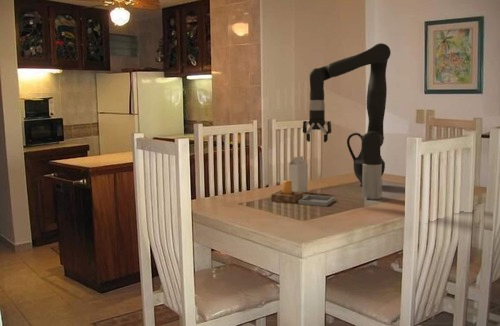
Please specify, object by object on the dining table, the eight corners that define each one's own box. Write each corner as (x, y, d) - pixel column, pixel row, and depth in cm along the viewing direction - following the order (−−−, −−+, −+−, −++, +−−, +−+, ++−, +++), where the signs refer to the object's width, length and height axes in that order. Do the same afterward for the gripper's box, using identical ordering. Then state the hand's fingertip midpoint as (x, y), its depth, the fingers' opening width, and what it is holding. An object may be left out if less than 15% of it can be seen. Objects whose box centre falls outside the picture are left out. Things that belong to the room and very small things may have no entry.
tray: (334, 202, 244) (334, 196, 244) (326, 207, 232) (326, 202, 232) (307, 199, 250) (307, 194, 249) (298, 205, 238) (298, 200, 237)
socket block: (303, 199, 250) (303, 191, 250) (294, 204, 239) (294, 196, 239) (280, 197, 255) (280, 190, 255) (271, 202, 245) (271, 194, 244)
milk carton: (288, 192, 270) (288, 156, 267) (298, 190, 274) (298, 155, 271) (297, 194, 264) (297, 158, 262) (307, 192, 268) (307, 156, 266)
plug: (293, 200, 248) (293, 180, 247) (289, 202, 244) (289, 182, 243) (284, 199, 250) (284, 180, 249) (281, 201, 246) (281, 181, 245)
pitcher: (385, 189, 273) (386, 134, 269) (346, 188, 277) (346, 134, 273) (383, 183, 290) (384, 131, 286) (346, 182, 294) (347, 131, 290)
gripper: (333, 109, 250) (332, 141, 253) (305, 109, 257) (305, 140, 259) (328, 109, 244) (328, 143, 246) (300, 109, 250) (300, 142, 252)
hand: (316, 141), depth 252 cm, fingers open, 8 cm apart
